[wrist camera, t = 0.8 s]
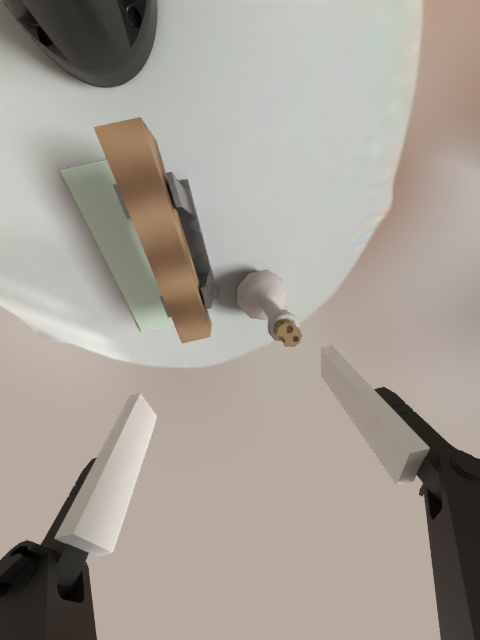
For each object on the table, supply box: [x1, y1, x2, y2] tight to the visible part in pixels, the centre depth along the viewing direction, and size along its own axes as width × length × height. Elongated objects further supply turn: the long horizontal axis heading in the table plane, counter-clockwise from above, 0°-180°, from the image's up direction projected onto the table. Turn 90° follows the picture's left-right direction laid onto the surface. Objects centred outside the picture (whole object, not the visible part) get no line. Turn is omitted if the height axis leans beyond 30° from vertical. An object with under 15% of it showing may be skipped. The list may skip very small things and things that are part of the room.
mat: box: [59, 160, 174, 332], centre depth 30 cm, size 26×8×1 cm, turn 11°
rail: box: [94, 117, 211, 343], centre depth 22 cm, size 22×4×4 cm, turn 11°
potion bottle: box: [237, 270, 302, 347], centre depth 27 cm, size 9×9×18 cm
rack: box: [113, 172, 218, 318], centre depth 26 cm, size 18×7×10 cm, turn 11°
